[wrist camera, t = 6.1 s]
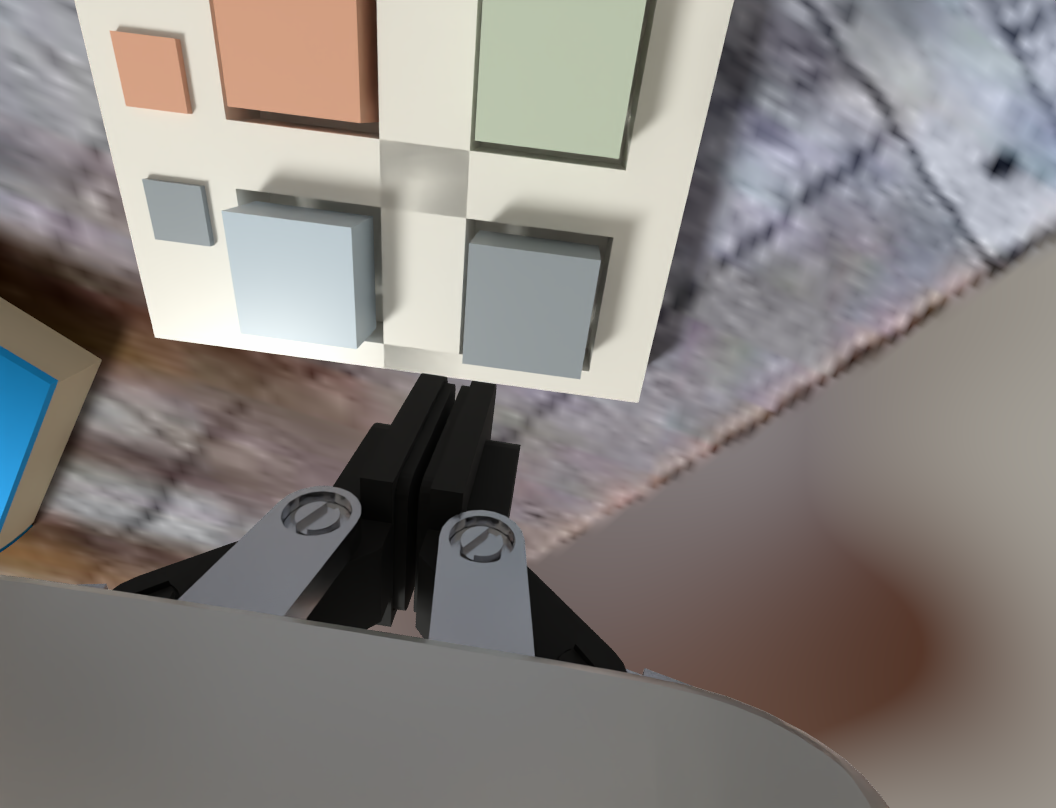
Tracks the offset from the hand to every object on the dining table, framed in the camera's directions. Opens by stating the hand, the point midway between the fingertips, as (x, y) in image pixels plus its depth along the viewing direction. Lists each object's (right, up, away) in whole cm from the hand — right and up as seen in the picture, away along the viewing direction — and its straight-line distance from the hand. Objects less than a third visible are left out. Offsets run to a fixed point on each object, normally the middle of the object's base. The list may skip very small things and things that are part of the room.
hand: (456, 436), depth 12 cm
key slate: (+2, +5, +11) cm, 13 cm away
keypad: (-3, +11, +12) cm, 17 cm away
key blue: (-8, +7, +12) cm, 15 cm away
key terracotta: (-7, +15, +9) cm, 18 cm away
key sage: (+3, +13, +7) cm, 15 cm away
